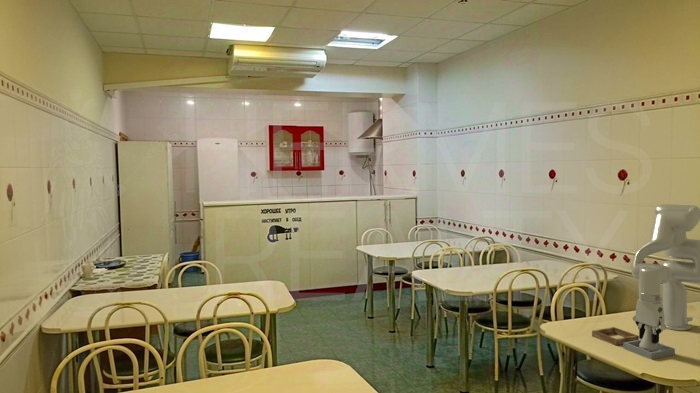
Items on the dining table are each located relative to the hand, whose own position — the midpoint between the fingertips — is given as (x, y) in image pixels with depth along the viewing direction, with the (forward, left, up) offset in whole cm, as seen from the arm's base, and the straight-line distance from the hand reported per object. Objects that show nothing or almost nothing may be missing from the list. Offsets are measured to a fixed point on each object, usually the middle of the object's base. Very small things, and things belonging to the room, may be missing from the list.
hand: (648, 340), depth 205 cm
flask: (0, 0, -4) cm, 4 cm away
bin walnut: (0, -16, -5) cm, 17 cm away
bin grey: (0, 0, -5) cm, 5 cm away
